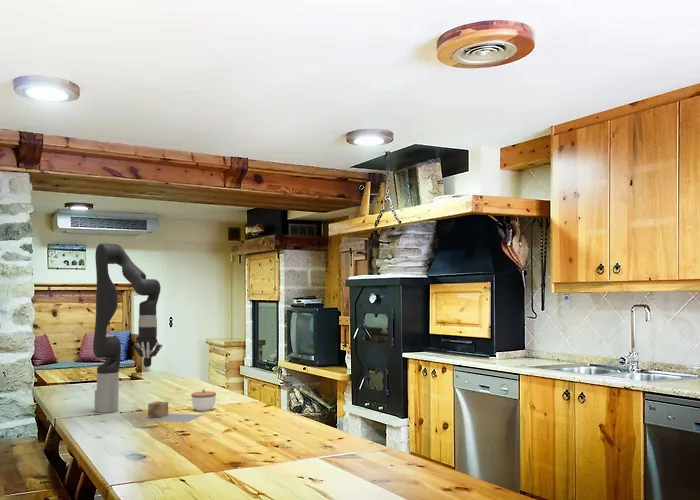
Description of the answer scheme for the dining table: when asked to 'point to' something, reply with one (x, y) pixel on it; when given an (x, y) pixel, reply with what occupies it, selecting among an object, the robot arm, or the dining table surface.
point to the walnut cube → (157, 410)
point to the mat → (174, 418)
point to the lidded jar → (203, 400)
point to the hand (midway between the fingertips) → (147, 366)
